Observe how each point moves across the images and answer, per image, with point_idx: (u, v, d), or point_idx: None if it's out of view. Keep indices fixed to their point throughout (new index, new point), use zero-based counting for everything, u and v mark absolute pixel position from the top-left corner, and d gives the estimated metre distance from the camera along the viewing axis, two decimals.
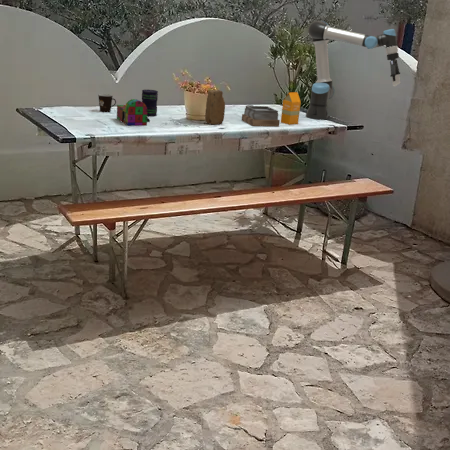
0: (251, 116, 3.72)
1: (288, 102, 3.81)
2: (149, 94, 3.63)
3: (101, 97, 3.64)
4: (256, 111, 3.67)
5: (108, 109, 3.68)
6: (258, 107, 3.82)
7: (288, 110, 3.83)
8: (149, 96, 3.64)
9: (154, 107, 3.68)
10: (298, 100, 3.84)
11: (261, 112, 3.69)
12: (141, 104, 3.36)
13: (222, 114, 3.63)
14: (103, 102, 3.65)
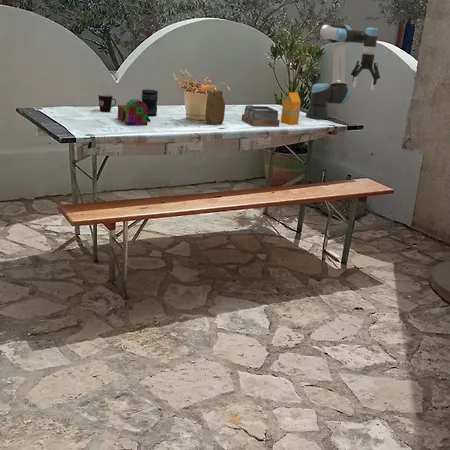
0: (251, 116, 3.72)
1: (288, 102, 3.81)
2: (149, 94, 3.63)
3: (101, 97, 3.64)
4: (256, 111, 3.67)
5: (108, 109, 3.68)
6: (258, 107, 3.82)
7: (288, 110, 3.83)
8: (149, 96, 3.64)
9: (154, 107, 3.68)
10: (298, 100, 3.84)
11: (261, 112, 3.69)
12: (141, 104, 3.37)
13: (222, 114, 3.63)
14: (103, 102, 3.65)
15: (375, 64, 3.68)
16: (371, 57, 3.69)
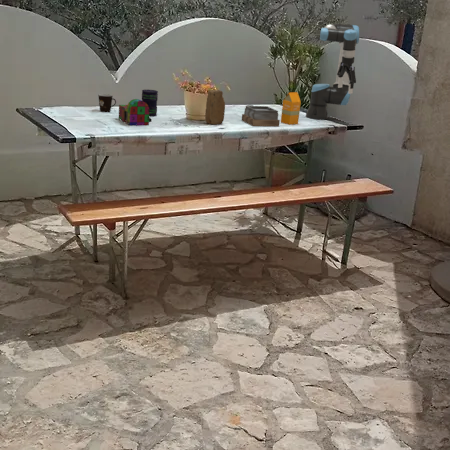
0: (251, 116, 3.72)
1: (288, 102, 3.81)
2: (149, 94, 3.63)
3: (101, 97, 3.64)
4: (256, 111, 3.67)
5: (108, 109, 3.68)
6: (258, 107, 3.82)
7: (288, 110, 3.83)
8: (149, 96, 3.64)
9: (154, 107, 3.68)
10: (298, 100, 3.84)
11: (261, 112, 3.69)
12: (143, 104, 3.37)
13: (222, 114, 3.63)
14: (103, 102, 3.65)
15: (351, 68, 3.65)
16: (348, 61, 3.66)
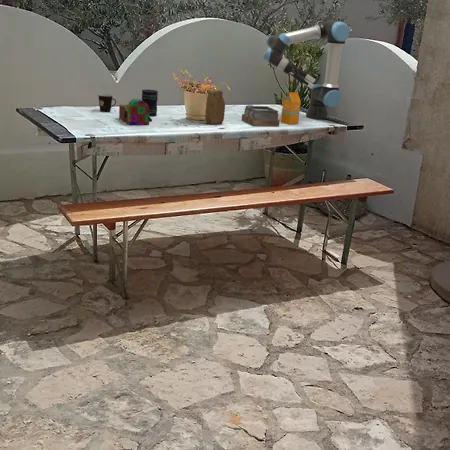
0: (251, 116, 3.72)
1: (288, 102, 3.81)
2: (149, 94, 3.63)
3: (101, 97, 3.64)
4: (256, 111, 3.67)
5: (108, 109, 3.68)
6: (258, 107, 3.82)
7: (288, 110, 3.83)
8: (149, 96, 3.64)
9: (154, 107, 3.68)
10: (298, 100, 3.84)
11: (261, 112, 3.69)
12: (143, 104, 3.38)
13: (222, 114, 3.63)
14: (103, 102, 3.65)
15: (291, 74, 3.74)
16: (286, 70, 3.77)
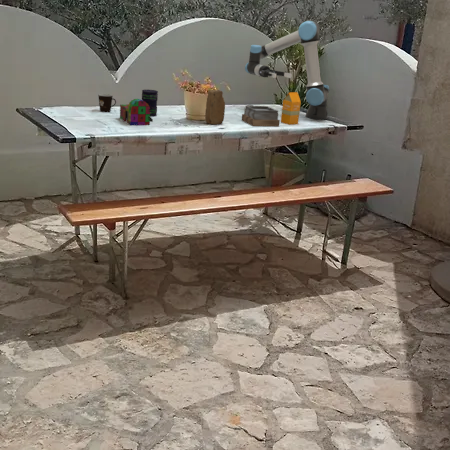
0: (251, 116, 3.72)
1: (288, 102, 3.81)
2: (149, 94, 3.63)
3: (101, 97, 3.64)
4: (256, 111, 3.67)
5: (108, 109, 3.68)
6: (258, 107, 3.82)
7: (288, 110, 3.83)
8: (149, 96, 3.64)
9: (154, 107, 3.68)
10: (298, 100, 3.84)
11: (261, 112, 3.69)
12: (144, 104, 3.38)
13: (222, 114, 3.63)
14: (103, 102, 3.65)
15: (260, 73, 3.95)
16: (260, 73, 3.99)
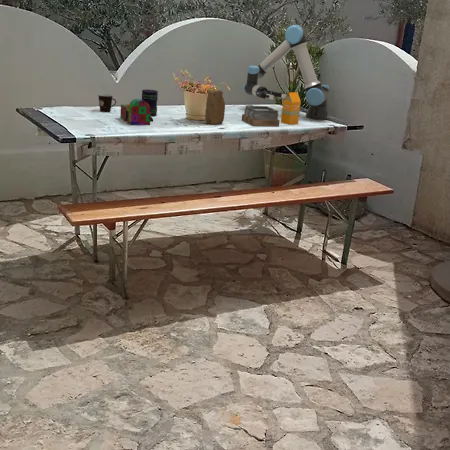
0: (251, 116, 3.72)
1: (288, 102, 3.81)
2: (149, 94, 3.63)
3: (101, 97, 3.64)
4: (256, 111, 3.67)
5: (108, 109, 3.68)
6: (258, 107, 3.82)
7: (288, 110, 3.83)
8: (149, 96, 3.64)
9: (154, 107, 3.68)
10: (298, 100, 3.84)
11: (261, 112, 3.69)
12: (144, 104, 3.39)
13: (222, 114, 3.63)
14: (103, 102, 3.65)
15: (257, 94, 3.99)
16: None
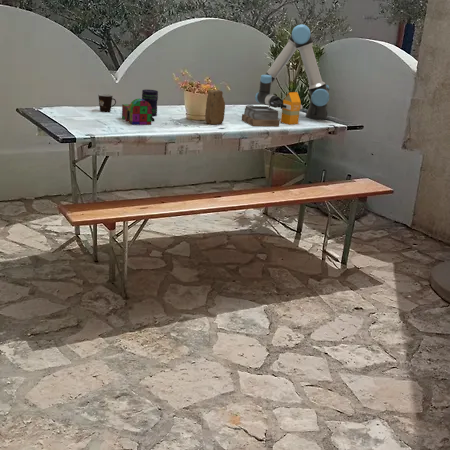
0: (251, 116, 3.72)
1: (288, 102, 3.81)
2: (149, 94, 3.64)
3: (101, 97, 3.64)
4: (256, 111, 3.67)
5: (108, 109, 3.68)
6: (258, 107, 3.82)
7: (288, 110, 3.83)
8: (149, 96, 3.64)
9: (154, 107, 3.68)
10: (298, 100, 3.84)
11: (261, 112, 3.69)
12: (145, 103, 3.39)
13: (222, 114, 3.63)
14: (103, 102, 3.65)
15: (271, 104, 3.90)
16: (270, 103, 3.96)
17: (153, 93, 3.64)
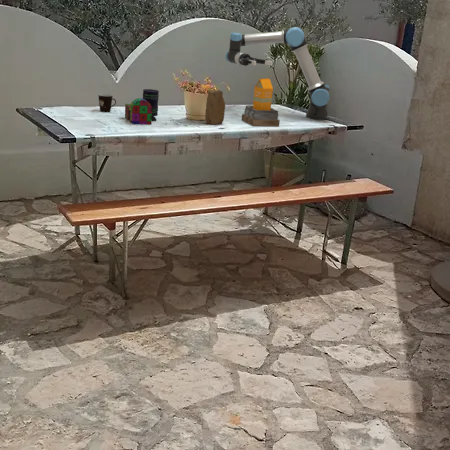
0: (251, 116, 3.72)
1: (259, 89, 3.69)
2: (150, 94, 3.65)
3: (101, 97, 3.64)
4: (256, 111, 3.67)
5: (108, 109, 3.68)
6: None
7: (259, 97, 3.70)
8: (150, 96, 3.65)
9: (155, 107, 3.70)
10: (270, 87, 3.71)
11: (261, 112, 3.69)
12: (145, 103, 3.41)
13: (222, 114, 3.63)
14: (103, 102, 3.65)
15: (240, 61, 3.84)
16: (240, 61, 3.89)
17: (154, 93, 3.66)
